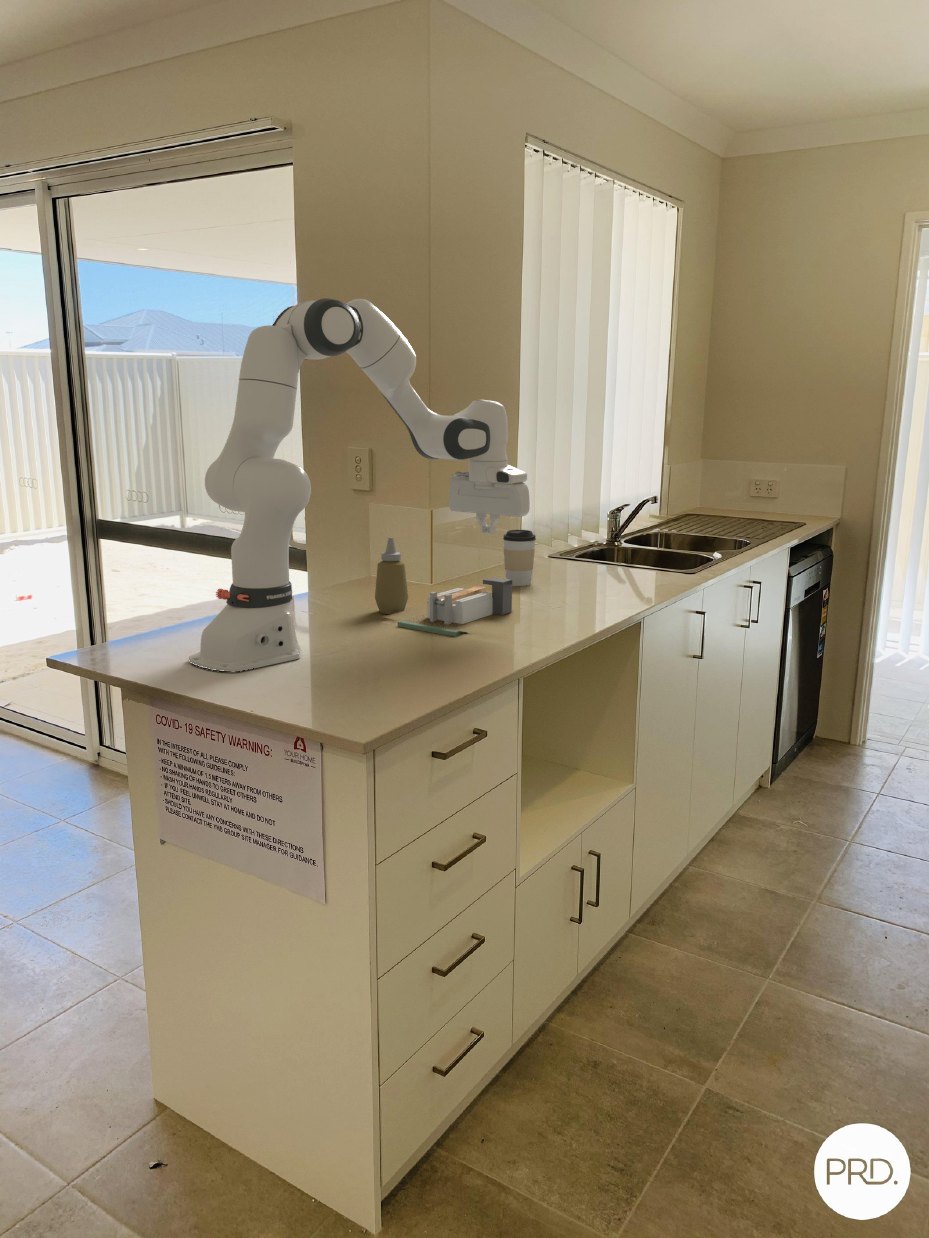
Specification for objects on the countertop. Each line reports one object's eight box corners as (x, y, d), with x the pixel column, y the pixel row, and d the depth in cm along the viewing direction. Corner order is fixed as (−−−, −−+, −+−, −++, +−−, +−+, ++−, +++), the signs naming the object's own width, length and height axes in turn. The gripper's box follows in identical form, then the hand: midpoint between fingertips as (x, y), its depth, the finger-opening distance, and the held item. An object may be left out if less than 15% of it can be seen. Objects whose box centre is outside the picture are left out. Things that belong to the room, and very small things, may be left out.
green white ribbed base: (455, 636, 203) (455, 602, 201) (397, 626, 212) (397, 593, 210) (518, 614, 224) (519, 583, 222) (464, 605, 233) (464, 575, 231)
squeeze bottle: (368, 613, 224) (367, 538, 220) (386, 607, 231) (385, 534, 227) (397, 617, 220) (396, 541, 216) (414, 610, 227) (414, 536, 223)
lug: (502, 615, 219) (503, 582, 217) (482, 611, 222) (482, 579, 220) (511, 612, 222) (512, 579, 220) (491, 608, 225) (492, 576, 223)
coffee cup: (496, 581, 263) (497, 528, 259) (525, 579, 266) (526, 526, 263) (511, 587, 255) (512, 533, 251) (540, 585, 258) (542, 531, 255)
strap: (443, 606, 210) (443, 600, 209) (434, 605, 211) (434, 599, 211) (486, 592, 223) (486, 586, 223) (477, 591, 224) (477, 585, 224)
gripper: (442, 471, 217) (443, 531, 220) (519, 476, 205) (518, 539, 209) (458, 469, 222) (458, 528, 225) (533, 474, 210) (532, 535, 214)
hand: (488, 533), depth 217 cm, fingers closed
